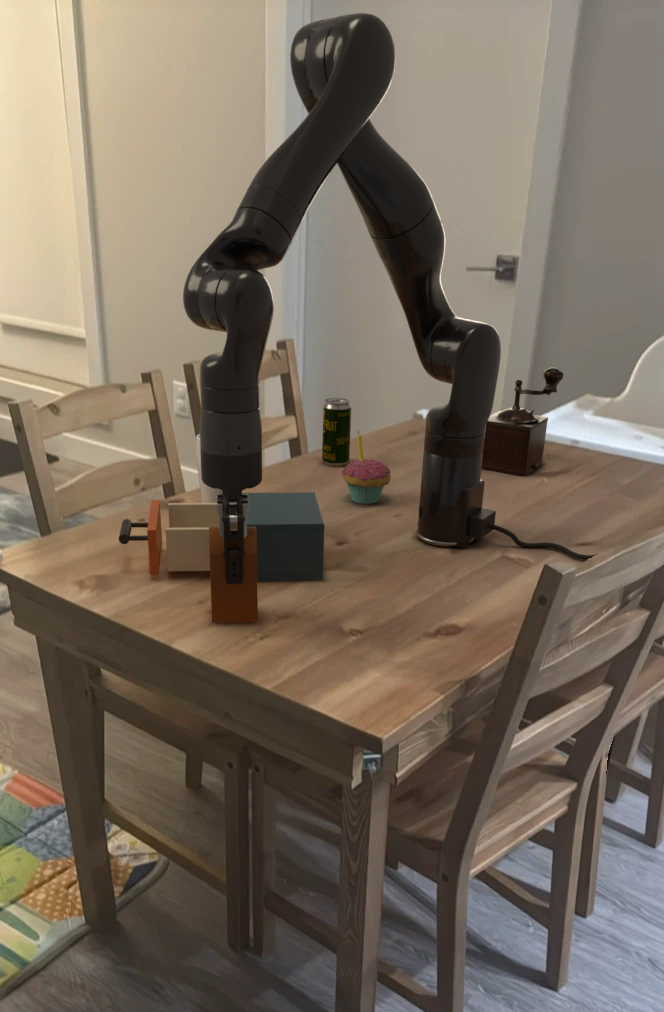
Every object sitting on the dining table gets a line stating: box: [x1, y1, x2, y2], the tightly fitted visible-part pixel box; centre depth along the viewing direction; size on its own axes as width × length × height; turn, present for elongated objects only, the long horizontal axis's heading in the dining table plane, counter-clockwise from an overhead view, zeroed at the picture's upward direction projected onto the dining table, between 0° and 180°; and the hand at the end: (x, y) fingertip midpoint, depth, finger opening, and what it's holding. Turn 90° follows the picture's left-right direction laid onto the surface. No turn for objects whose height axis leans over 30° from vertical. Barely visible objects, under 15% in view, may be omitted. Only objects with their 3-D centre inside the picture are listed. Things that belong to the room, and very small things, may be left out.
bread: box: [209, 527, 259, 623], centre depth 129 cm, size 6×5×12 cm
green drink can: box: [321, 397, 352, 468], centre depth 192 cm, size 5×5×12 cm
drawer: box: [118, 499, 220, 576], centre depth 145 cm, size 18×13×7 cm
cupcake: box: [341, 429, 392, 505], centre depth 173 cm, size 9×8×12 cm
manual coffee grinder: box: [481, 366, 564, 477], centre depth 194 cm, size 16×11×18 cm
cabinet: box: [220, 491, 325, 582], centre depth 147 cm, size 15×14×9 cm
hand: (233, 573), depth 129 cm, fingers closed on bread, 5 cm apart
